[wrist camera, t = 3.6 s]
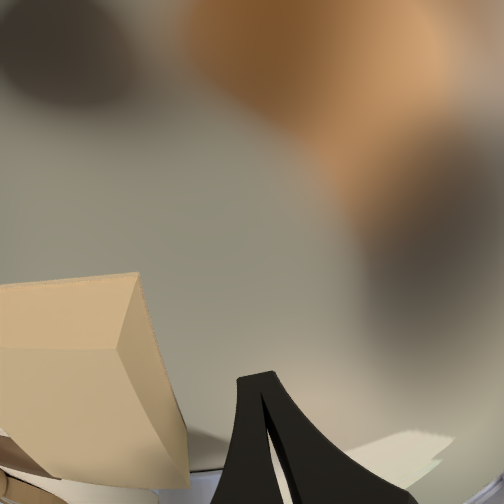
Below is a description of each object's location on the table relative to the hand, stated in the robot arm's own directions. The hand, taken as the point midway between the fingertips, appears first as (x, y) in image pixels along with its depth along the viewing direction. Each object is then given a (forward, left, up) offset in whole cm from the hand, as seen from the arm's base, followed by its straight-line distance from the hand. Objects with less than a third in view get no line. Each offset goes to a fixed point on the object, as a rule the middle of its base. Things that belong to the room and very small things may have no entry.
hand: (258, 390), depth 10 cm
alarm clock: (-21, +32, -2) cm, 38 cm away
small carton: (0, +8, -2) cm, 8 cm away
